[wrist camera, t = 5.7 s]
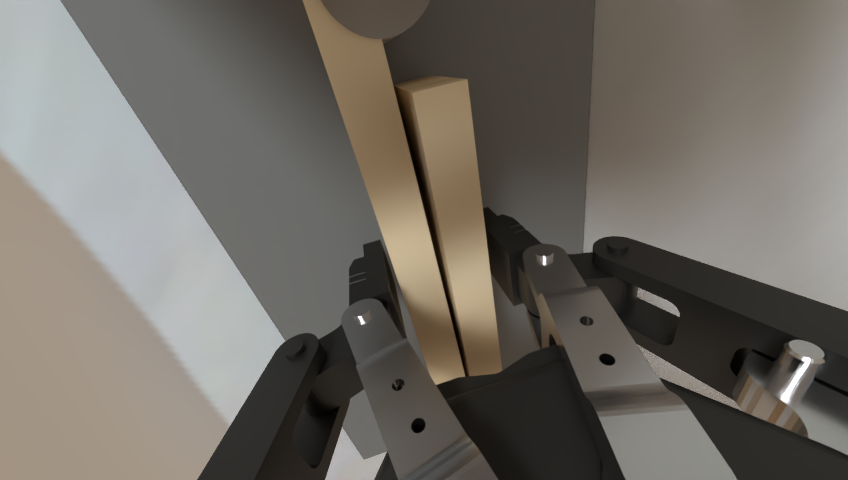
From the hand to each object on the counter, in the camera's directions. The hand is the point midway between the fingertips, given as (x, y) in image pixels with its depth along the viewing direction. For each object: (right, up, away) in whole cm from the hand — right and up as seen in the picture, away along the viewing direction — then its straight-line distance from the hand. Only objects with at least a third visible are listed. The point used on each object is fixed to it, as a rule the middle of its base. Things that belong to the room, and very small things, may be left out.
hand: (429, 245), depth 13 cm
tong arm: (+1, -3, +3) cm, 4 cm away
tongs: (0, -1, +2) cm, 2 cm away
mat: (0, -1, +3) cm, 3 cm away
